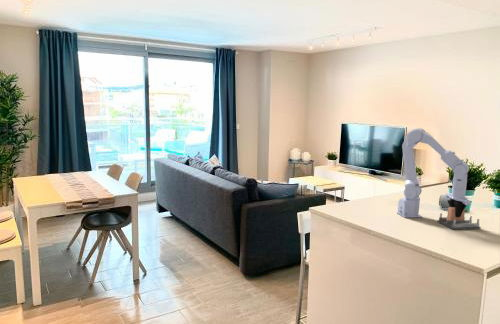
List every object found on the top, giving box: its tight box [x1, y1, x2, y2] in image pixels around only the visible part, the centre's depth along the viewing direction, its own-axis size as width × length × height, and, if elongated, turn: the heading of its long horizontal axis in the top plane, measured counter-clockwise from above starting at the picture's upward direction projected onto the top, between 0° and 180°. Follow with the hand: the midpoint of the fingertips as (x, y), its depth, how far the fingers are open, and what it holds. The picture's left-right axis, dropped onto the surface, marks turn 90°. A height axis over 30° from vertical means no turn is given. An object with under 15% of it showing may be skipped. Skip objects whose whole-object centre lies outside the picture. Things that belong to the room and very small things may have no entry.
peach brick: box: [446, 207, 466, 220], centre depth 180 cm, size 7×2×7 cm, turn 99°
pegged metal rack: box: [436, 213, 481, 231], centre depth 178 cm, size 14×11×4 cm
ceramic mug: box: [438, 194, 450, 211], centre depth 207 cm, size 11×8×8 cm
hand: (455, 216), depth 180 cm, fingers closed on peach brick, 2 cm apart
